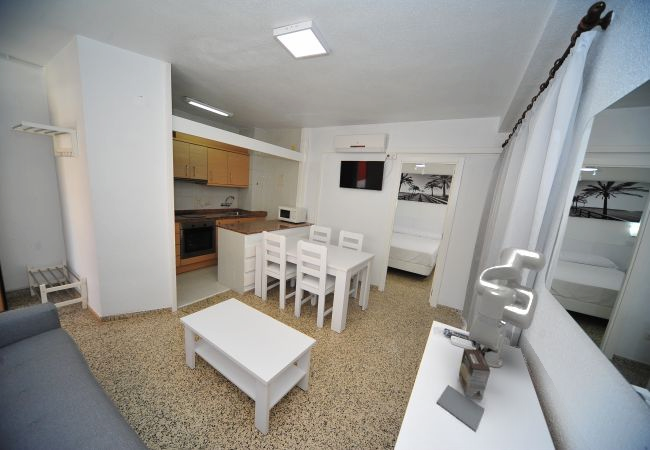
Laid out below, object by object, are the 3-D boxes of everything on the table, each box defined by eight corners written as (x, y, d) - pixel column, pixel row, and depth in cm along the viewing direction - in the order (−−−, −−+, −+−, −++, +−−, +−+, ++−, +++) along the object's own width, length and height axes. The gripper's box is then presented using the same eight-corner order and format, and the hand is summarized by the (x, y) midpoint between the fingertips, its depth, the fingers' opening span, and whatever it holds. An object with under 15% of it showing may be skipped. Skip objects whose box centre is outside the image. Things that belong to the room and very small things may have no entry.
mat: (447, 385, 94) (448, 384, 94) (484, 410, 85) (484, 408, 85) (436, 403, 86) (436, 401, 86) (475, 432, 77) (475, 430, 77)
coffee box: (457, 375, 98) (463, 347, 93) (473, 377, 97) (480, 349, 92) (465, 397, 90) (472, 368, 84) (483, 400, 88) (491, 370, 83)
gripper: (514, 324, 88) (502, 365, 91) (470, 307, 98) (461, 344, 102) (510, 332, 83) (499, 374, 86) (465, 312, 93) (456, 351, 97)
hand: (478, 357), depth 94 cm, fingers closed
